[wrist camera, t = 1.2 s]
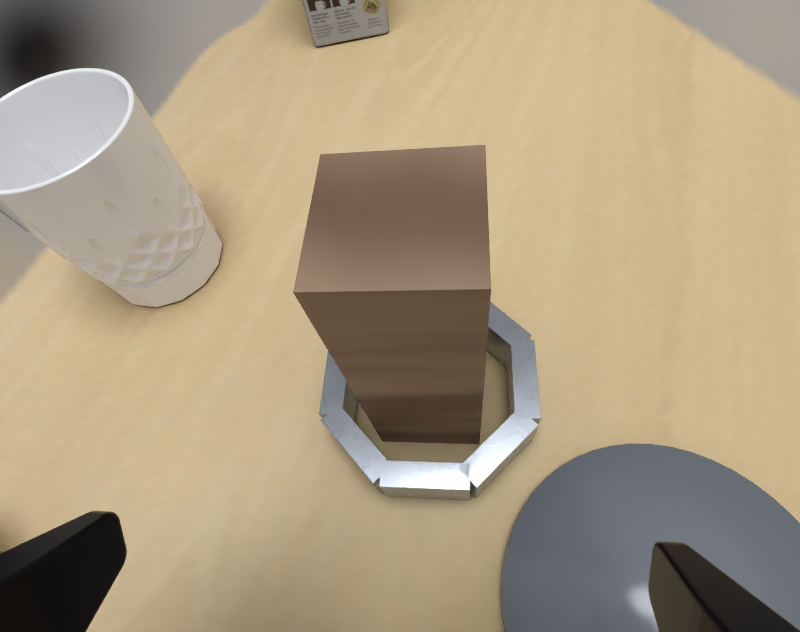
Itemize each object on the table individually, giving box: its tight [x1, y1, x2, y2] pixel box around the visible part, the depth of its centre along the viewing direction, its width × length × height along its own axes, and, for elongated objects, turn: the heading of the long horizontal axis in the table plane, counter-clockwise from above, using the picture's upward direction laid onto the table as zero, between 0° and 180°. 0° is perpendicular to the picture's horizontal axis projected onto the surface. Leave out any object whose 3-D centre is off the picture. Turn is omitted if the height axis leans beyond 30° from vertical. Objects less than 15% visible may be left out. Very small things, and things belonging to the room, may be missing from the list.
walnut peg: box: [293, 145, 491, 444], centre depth 17 cm, size 4×4×13 cm
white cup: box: [0, 68, 222, 307], centre depth 25 cm, size 8×8×10 cm
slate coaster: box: [501, 444, 800, 632], centre depth 17 cm, size 12×12×1 cm
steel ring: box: [319, 302, 541, 500], centre depth 22 cm, size 9×9×2 cm
